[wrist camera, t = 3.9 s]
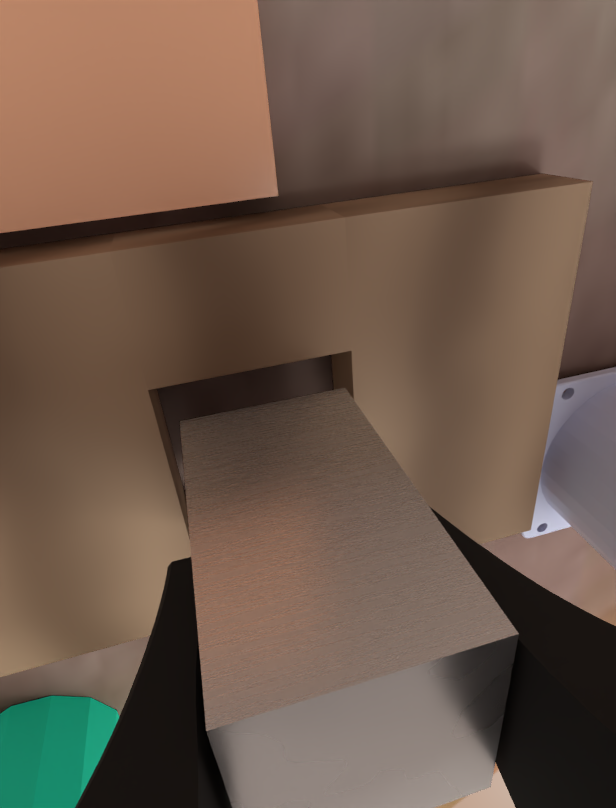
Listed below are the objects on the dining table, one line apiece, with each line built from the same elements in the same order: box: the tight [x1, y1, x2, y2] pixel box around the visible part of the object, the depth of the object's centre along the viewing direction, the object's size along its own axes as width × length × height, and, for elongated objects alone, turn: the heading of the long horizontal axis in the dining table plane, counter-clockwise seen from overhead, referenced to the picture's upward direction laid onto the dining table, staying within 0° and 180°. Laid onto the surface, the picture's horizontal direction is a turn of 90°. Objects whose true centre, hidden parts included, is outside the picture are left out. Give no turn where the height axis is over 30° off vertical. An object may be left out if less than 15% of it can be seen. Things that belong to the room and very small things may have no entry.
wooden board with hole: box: [0, 174, 593, 677], centre depth 17 cm, size 20×13×2 cm, turn 95°
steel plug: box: [180, 388, 519, 808], centre depth 12 cm, size 4×4×8 cm
